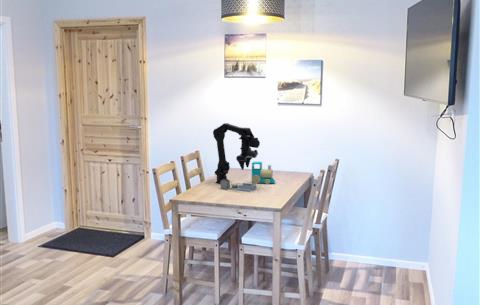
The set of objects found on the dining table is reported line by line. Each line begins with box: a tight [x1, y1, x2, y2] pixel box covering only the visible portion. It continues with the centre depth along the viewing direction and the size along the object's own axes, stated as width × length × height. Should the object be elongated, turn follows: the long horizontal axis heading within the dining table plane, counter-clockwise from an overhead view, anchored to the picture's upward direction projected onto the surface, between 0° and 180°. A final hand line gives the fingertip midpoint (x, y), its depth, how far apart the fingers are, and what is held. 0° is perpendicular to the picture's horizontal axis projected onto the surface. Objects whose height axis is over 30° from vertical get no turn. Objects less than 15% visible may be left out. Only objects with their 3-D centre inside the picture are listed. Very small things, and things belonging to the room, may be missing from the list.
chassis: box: [229, 182, 257, 193], centre depth 319 cm, size 15×11×3 cm
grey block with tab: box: [220, 178, 231, 191], centre depth 319 cm, size 5×4×7 cm
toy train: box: [251, 161, 276, 185], centre depth 338 cm, size 8×17×15 cm, turn 78°
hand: (245, 168), depth 323 cm, fingers open, 9 cm apart
